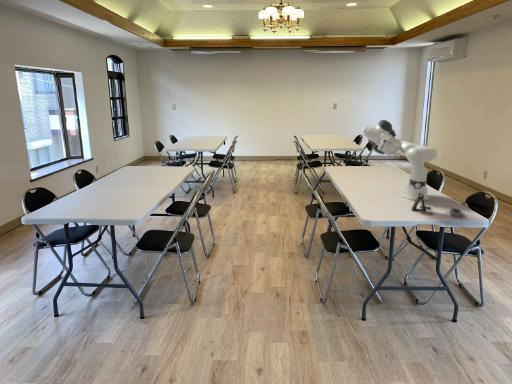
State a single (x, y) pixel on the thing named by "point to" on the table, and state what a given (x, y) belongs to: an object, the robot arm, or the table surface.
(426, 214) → the walled lane
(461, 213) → the pit tray
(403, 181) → the table surface
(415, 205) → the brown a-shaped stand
